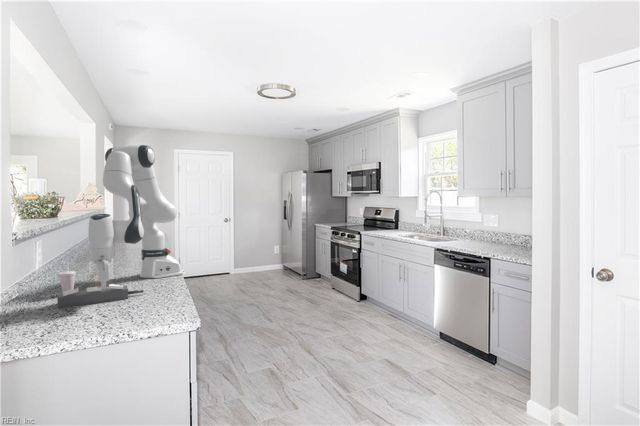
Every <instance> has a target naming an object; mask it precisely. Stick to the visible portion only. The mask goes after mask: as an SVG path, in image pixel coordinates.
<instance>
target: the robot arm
mask: <svg viewBox="0 0 640 426" xmlns="http://www.w3.org/2000/svg"><path fill="white" fill-rule="evenodd" d="M155 156H156V155H155V151H154V149H153V148H151V146H149V145H146V144H140V145H139V144H138V145H135V144H133V145H132V144H131V145H124V146H114V147H110V148H108V149H107V150H106V152H105V154H104V160H105V165H104V168H103V175H102V185H103V187H104V189H106V190H107V191H108V192H109V193H110V194H113V195H115V196H118V197H121V198H123V199H126V200H127V204H128V216H129V219H127V220H113V217H112V215H111V214H108V213H98V214H93V215H91V216H89V220H88V229H87V230H88V232H87V233H88V239H89V245H88V248H89V249H88V253H89V260H90V261H93V264H95V267H96V272H97V277H98V282H100V286H101V288H102V289H105V288H107V282H109V281H110V278H111V277H110V263H111V262H112V259H114V258H115V257H116V252H115V249H116V248H115V244H133V245H135V244H137V243H139V242H140V241H141V247H142V249H141V252H140V255H141V256H140V257H141V269H140V273H139V277H140V278H143V279H144V278H145V279H161V278H167V277H168V278H169V277H174V276H181V275H185V274H186V270H185V269H184V268H182V267H181V264H180V261H179V260H177V259H176V258H175V257H174V256H171V255H170V254H171V252H172V250H171V249H170V248H166V241H165V240H166V239H165V238H166V237H165V236H166V235H165V233H164V232H163V231H162V230H160V229H159V228H158V226H157V224H166V223H167V224H168V223H171V222H173V221H175V219H176V217H177V215H178V211H177V207H176V206H175V205H174V204H173V203H171V202H170V201H168V199H166V197H165V196H164V194H163V193H162V191H161V190H160V187H159V182H158V180H157V175H156V171H155V169H154V166H153V165H154V163H155V160H156V157H155ZM140 199H143V200H144V201H143V202H141V201H140Z"/></svg>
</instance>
